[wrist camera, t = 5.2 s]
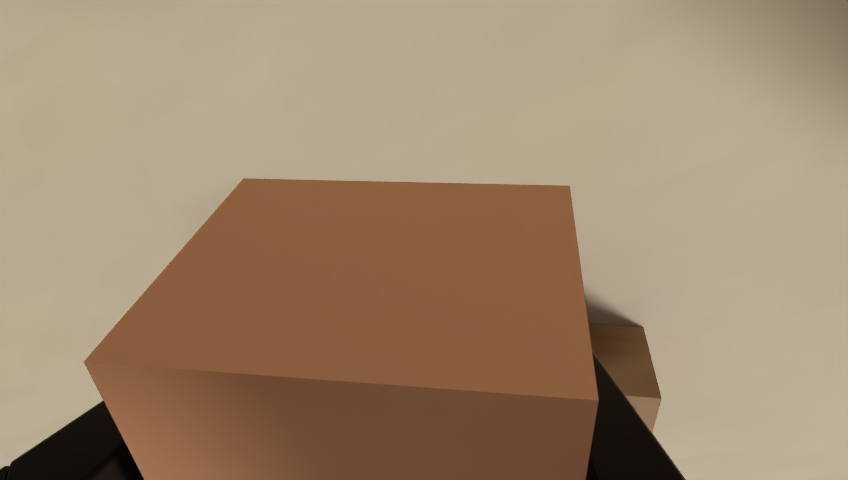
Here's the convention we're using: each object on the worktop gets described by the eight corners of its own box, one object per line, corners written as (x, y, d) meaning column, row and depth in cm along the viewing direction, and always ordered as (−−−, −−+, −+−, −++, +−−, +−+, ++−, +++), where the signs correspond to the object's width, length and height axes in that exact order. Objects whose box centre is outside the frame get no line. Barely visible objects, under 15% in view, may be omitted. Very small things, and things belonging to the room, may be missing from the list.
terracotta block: (569, 186, 8) (598, 399, 5) (547, 417, 11) (556, 654, 8) (243, 178, 9) (83, 361, 6) (297, 397, 12) (209, 606, 9)
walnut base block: (642, 322, 24) (661, 398, 20) (614, 447, 28) (626, 527, 25) (445, 310, 25) (434, 380, 21) (448, 433, 29) (439, 507, 26)
